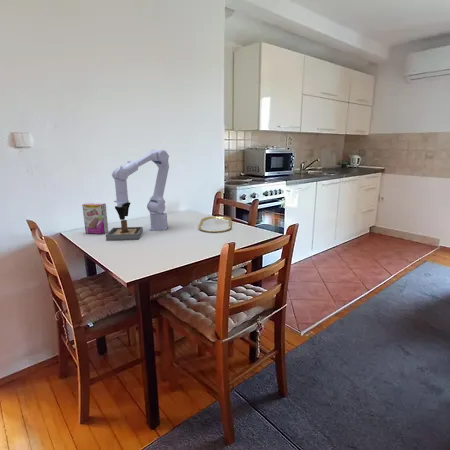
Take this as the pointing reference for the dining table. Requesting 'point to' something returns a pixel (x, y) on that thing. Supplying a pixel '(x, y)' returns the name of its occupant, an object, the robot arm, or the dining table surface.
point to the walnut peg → (124, 226)
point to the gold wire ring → (214, 218)
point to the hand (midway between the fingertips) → (124, 217)
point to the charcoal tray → (112, 236)
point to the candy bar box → (95, 218)
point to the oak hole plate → (130, 231)
